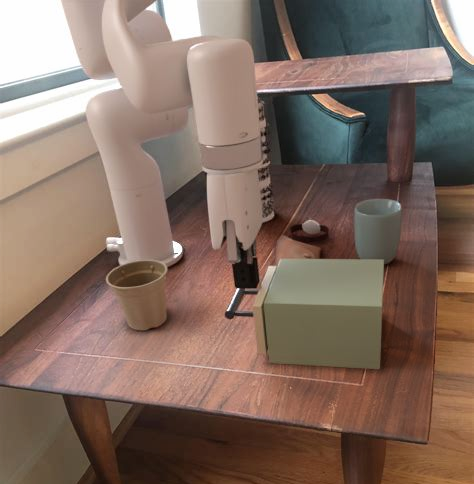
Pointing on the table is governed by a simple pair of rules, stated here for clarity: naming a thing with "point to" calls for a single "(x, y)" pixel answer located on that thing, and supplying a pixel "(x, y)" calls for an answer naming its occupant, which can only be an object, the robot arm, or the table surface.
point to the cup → (377, 229)
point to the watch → (310, 228)
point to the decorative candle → (265, 169)
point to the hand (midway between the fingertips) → (247, 285)
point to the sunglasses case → (295, 250)
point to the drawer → (254, 309)
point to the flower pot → (141, 292)
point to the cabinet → (325, 313)
